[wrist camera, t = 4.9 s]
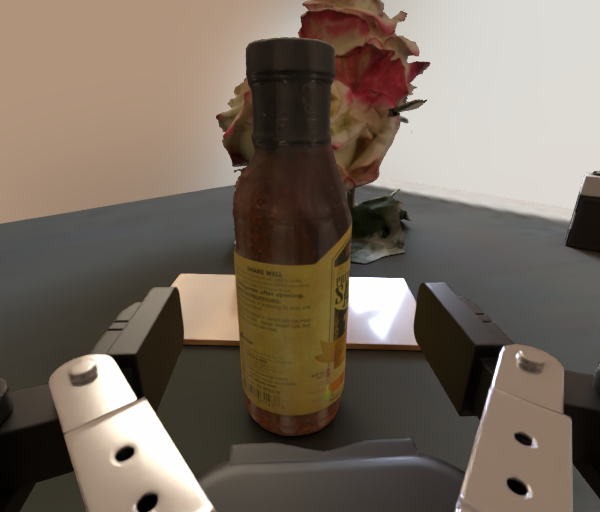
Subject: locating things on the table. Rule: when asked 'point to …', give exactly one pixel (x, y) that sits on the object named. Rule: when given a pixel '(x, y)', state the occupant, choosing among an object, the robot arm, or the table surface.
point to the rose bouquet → (352, 111)
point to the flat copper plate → (360, 324)
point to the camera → (586, 215)
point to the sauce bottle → (292, 242)
